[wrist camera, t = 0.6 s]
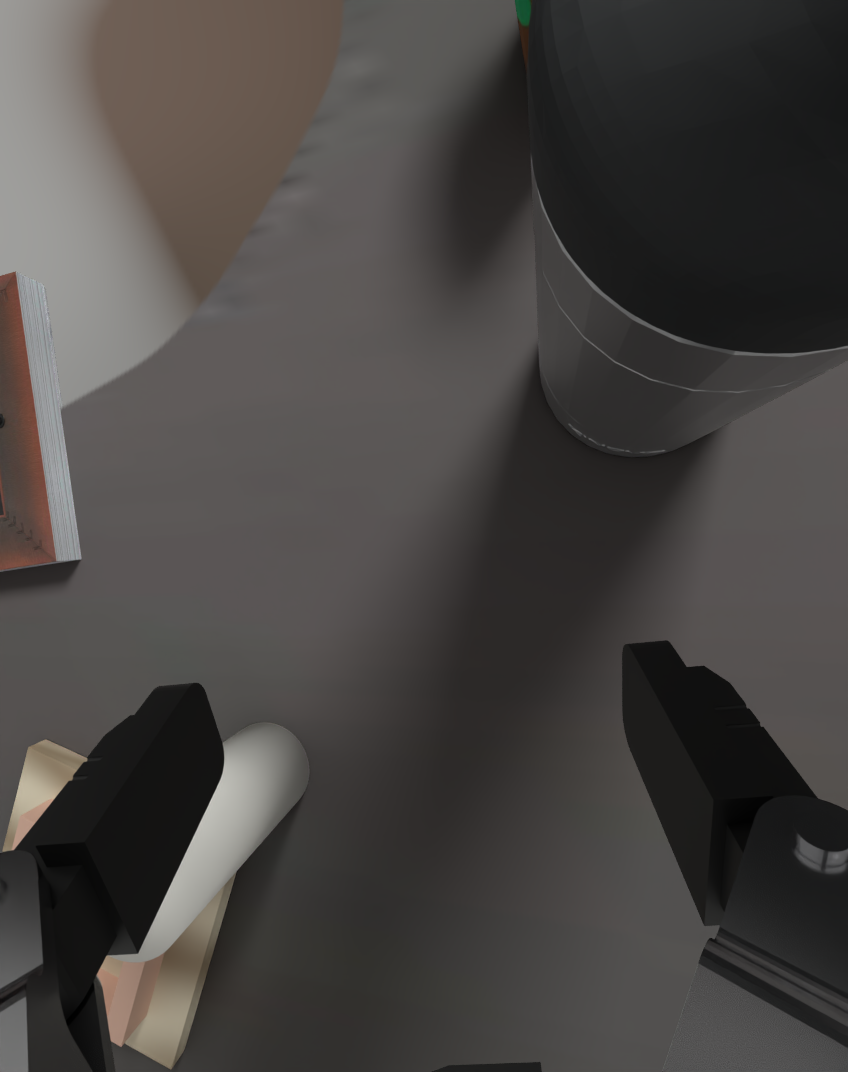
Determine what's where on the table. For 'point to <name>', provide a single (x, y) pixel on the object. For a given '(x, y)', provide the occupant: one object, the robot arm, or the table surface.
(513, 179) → the table surface
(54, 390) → the picture frame
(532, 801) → the table surface
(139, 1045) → the roll holder
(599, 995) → the table surface
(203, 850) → the paper roll
